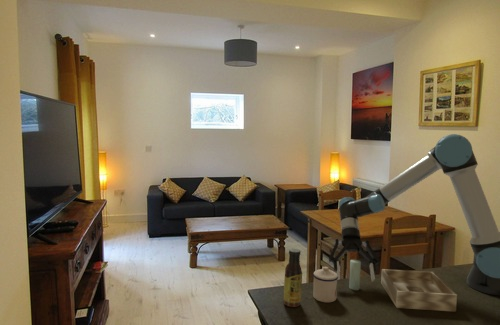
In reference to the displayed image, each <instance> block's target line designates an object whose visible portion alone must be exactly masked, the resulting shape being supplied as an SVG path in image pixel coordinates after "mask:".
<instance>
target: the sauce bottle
mask: <svg viewBox="0 0 500 325" xmlns="http://www.w3.org/2000/svg"><path fill="white" fill-rule="evenodd" d="M288 254H289V255H288V256H289V258H288V263H287V264H286V266H285V269H284V270H285V272H284V280H283V281H284V283H283V304H284V306H286V307H287V308H288V307H289V308H297V307H299V306H300V305H301V300H302V286H303V284H302V283H303V271H302V268H301V263H300V262H301V261H300V259H301V257H300V255H301V250H300V249H298V248H290V249H288Z"/></svg>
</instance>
